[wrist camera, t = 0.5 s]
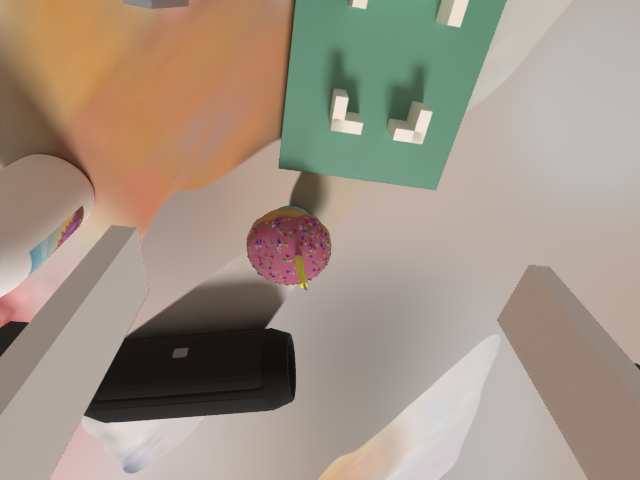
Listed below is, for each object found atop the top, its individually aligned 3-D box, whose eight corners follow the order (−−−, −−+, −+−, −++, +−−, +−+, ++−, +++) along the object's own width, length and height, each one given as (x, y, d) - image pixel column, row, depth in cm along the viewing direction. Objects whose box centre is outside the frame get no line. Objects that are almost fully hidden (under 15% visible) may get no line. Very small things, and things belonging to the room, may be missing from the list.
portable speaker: (288, 310, 47) (284, 376, 39) (297, 358, 53) (295, 425, 45) (98, 326, 48) (54, 394, 40) (126, 372, 54) (93, 440, 45)
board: (311, -149, 24) (312, -174, 20) (534, -96, 26) (569, -110, 22) (279, 163, 36) (276, 181, 32) (432, 185, 38) (445, 204, 34)
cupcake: (302, 175, 37) (299, 242, 27) (343, 234, 41) (355, 310, 31) (236, 215, 39) (211, 290, 29) (281, 267, 43) (274, 348, 33)
